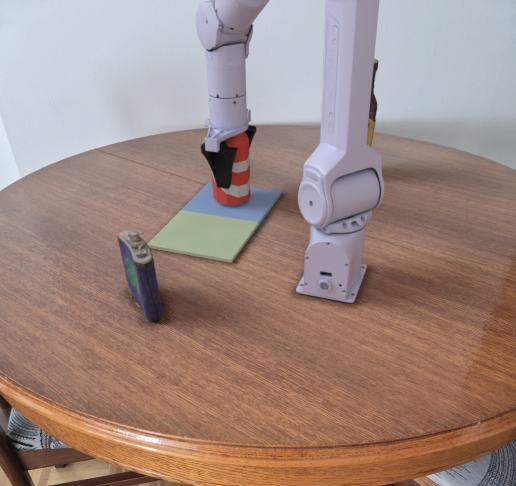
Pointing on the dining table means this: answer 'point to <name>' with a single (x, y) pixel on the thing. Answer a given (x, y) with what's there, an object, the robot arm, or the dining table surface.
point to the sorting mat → (214, 225)
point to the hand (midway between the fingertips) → (231, 178)
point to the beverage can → (236, 174)
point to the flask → (141, 274)
